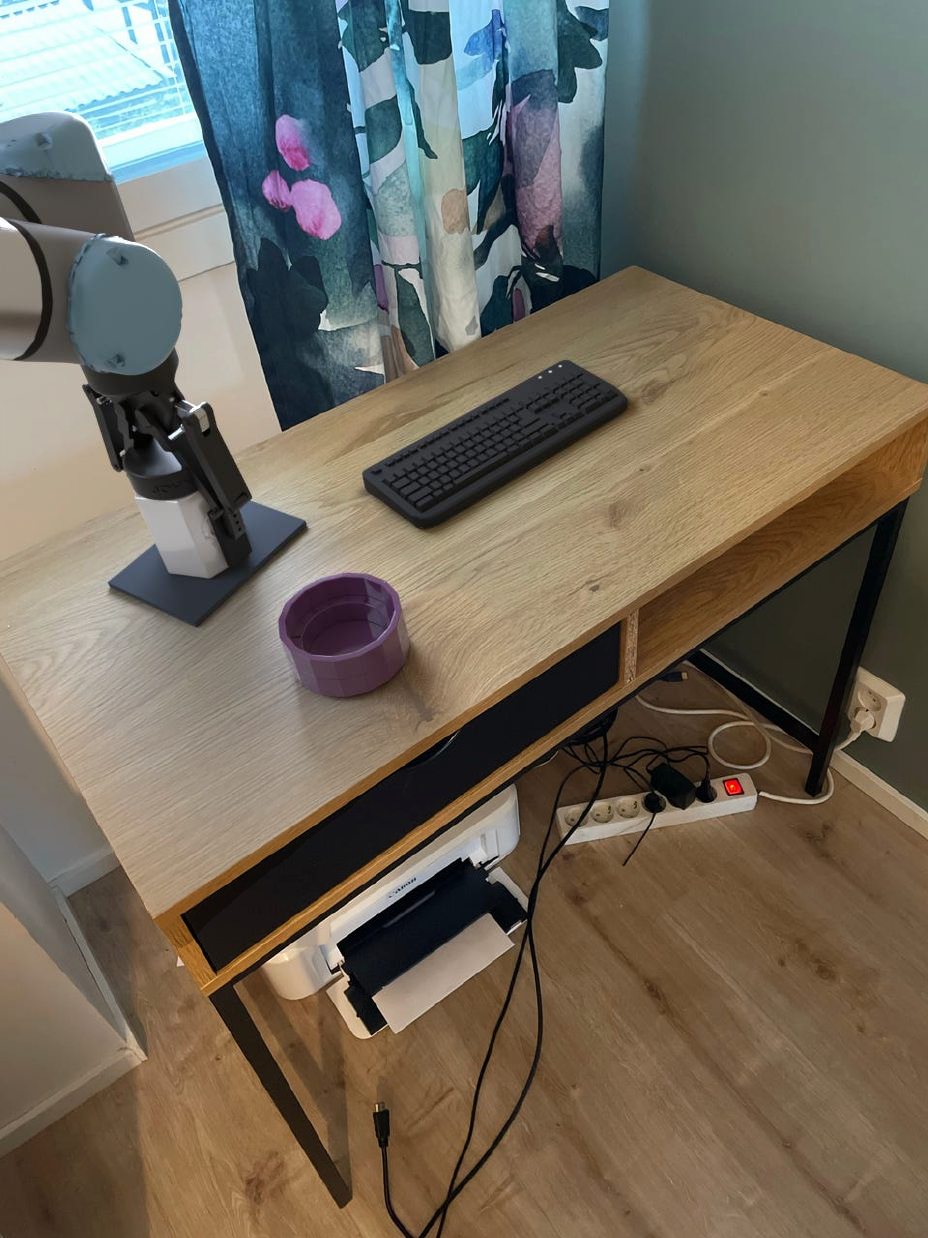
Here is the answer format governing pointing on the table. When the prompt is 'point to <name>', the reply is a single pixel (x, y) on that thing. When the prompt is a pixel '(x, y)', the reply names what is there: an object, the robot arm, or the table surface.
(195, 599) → the placemat
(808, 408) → the table surface
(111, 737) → the table surface
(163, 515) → the jar
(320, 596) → the bowl
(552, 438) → the keyboard
